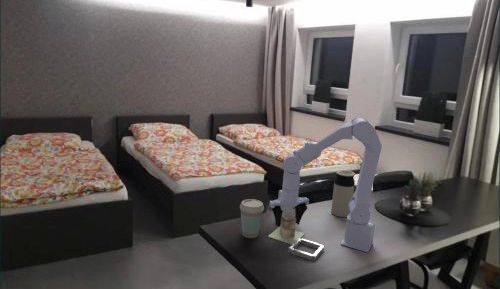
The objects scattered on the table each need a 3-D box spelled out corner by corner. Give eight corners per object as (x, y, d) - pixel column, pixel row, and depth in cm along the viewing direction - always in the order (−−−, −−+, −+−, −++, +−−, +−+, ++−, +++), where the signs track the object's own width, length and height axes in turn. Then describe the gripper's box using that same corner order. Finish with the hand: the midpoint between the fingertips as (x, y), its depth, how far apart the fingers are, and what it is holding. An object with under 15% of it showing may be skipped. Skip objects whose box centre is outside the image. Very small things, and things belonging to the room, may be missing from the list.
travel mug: (354, 216, 156) (359, 174, 151) (338, 218, 153) (343, 176, 148) (343, 209, 163) (347, 169, 159) (327, 210, 160) (331, 170, 156)
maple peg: (289, 231, 138) (290, 213, 136) (294, 236, 134) (296, 218, 132) (279, 233, 136) (280, 215, 135) (284, 238, 132) (285, 219, 131)
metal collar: (324, 249, 127) (324, 245, 127) (314, 261, 119) (314, 256, 119) (299, 241, 132) (299, 237, 131) (287, 252, 124) (288, 248, 123)
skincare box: (282, 223, 145) (285, 194, 142) (275, 219, 148) (278, 190, 146) (295, 220, 148) (298, 191, 145) (288, 216, 152) (290, 188, 149)
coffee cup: (256, 228, 140) (258, 197, 137) (266, 238, 132) (268, 206, 130) (235, 230, 137) (236, 199, 134) (243, 241, 129) (244, 208, 127)
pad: (304, 234, 137) (305, 233, 137) (293, 245, 129) (293, 244, 129) (280, 227, 142) (280, 226, 142) (267, 237, 134) (267, 236, 133)
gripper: (276, 194, 125) (274, 231, 128) (314, 190, 130) (311, 226, 133) (268, 186, 131) (265, 223, 134) (304, 183, 137) (301, 218, 140)
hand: (287, 224), depth 134 cm, fingers open, 7 cm apart
